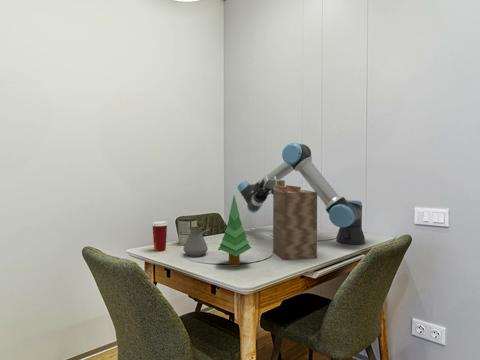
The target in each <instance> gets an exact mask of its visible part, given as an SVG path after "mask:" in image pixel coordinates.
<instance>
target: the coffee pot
mask: <svg viewBox="0 0 480 360" xmlns="http://www.w3.org/2000/svg"><path fill="white" fill-rule="evenodd" d="M222 224H224V225H226V222H225V220H222V221H220V222H218V223H216V224H214V225H212V226H211V227H208V228H207V229H205V230H203V231H202V229H203V226H197V227H189V229H190V234H189V236H188V239H187V241H186V244H185V246H183V249H182V250H183V252H184V253H185V254H186V255H187V256H188V257H192V256H197V257H201V255H202V256H204V255H205V254H206V253H207V251H208V249H209V248H208V245H207V243H206V241H205V238H204V236H203V235H204V234H206V233H207V232H208V231H210V230H213V229H215V228H217V227H218V226H220V225H222ZM203 254H204V255H203Z"/></svg>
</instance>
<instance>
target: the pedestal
mask: <svg viewBox="0 0 480 360" xmlns="http://www.w3.org/2000/svg"><path fill="white" fill-rule="evenodd" d="M272 198H273V199H272V201H273V202H272V206H273V207H272V210H273V211H272V215H273V216H272V222H273V223H272V226H273V227H272V253H273V254H274V255H276V256H277V257H279V258H281V260H282V261H290V260H304V259H316V258H318V250H317V249H318V195H317V192H315V191H314V190H312V191H311V190H306V189H305V190H304V189H301V186H297V185H290V184H287V185H286V184H285V187H284V186H274V191H273V194H272Z"/></svg>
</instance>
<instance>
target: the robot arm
mask: <svg viewBox="0 0 480 360" xmlns="http://www.w3.org/2000/svg"><path fill="white" fill-rule="evenodd" d="M281 157H282V159H283V162H282V163H280V164H279V165H278V166H277V167H276V168H274V169H272V170H271V171H270V172H269V173H267V174H266V175H264V176H263V177H262V178H261V179H260V180H259V181H257V182H256V183H254V184H253V183H252V184H250V183H249V182H248V181H247V180H244V181H241V182H240V183H239V184H238V186H237V190H238V192H239V193H240V194H241V196H242V198H243V199H244V200H245V202H246V204H247V206H246V207H247V210H248V212H249V213H253V214H255V213H257V212H259V210H260V209H261V207H262V206H263V205H264V203H265V201H266V200H267V198H268V196H269V195H273V191H274V189H269V188H263V186H265V185H266V183H267V182H268V179H275V180H283V178H285V177H286V176H287V175H289V174H290V173H292V172H293V171H295V172H299V173H300V175H301V176H302V177H303V178H304V180H305V181H306V182H307V184H308V185H309V186H310V187H311V189H312V191H313V192H317V197H318V198H319V199H320V200H321V202H323V204H324V205H325V211H326V213H327V214H328V218H329V220H330V222H331V223H332V225H334V226H335V227H338V228H339V229H338V231H337V233H336V239H335V240H336V242H337V243H341V244H345V245H362V244H365V243H366V237H365V235H364V231H363V227H362V226H363V224H362V223H363V222H362V221H363V203H362V201H361V200H353V199H352V200H351V199H346V198H345V197H344V196H341V195H339V194H338V193H337V191H336V190H335V189H334V188H333V187H332V185H331V184H330V183H329V181H328V180H327V179H326V178H325V177H324V175H323V174H322V173H321V172H320V170H319V169H318V168H317V166H316V165H315V164H314V163H313V162H312V160H313V157H312V150H311V148H310V147H309V146H308V145H306V144H302V143H298V142H290V143H288V144H286V145H285V146H284V147H283V149H282V154H281ZM262 179H264V180H262Z"/></svg>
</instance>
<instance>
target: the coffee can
mask: <svg viewBox="0 0 480 360" xmlns="http://www.w3.org/2000/svg"><path fill="white" fill-rule="evenodd" d="M177 220H178V221H177V222H178V223H177V224H178V227H177V228H178V229H177V230H178V245H179V246H183V247H184V246H185V244H186V241H187V239H188V236H189V234H190V229H189V227H198V217H196V216H181V217H178V218H177Z"/></svg>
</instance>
